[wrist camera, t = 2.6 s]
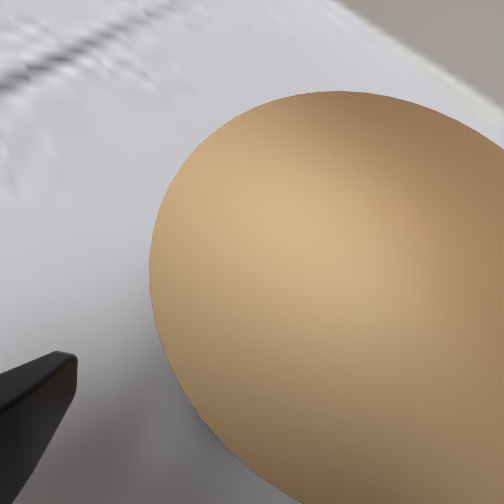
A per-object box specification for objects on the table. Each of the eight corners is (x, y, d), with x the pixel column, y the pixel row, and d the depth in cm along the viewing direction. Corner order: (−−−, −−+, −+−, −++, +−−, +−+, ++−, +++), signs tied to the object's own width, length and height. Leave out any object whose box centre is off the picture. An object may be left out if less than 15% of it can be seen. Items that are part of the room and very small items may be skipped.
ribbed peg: (230, 475, 15) (299, 691, 3) (183, 361, 17) (87, 156, 4) (333, 416, 16) (713, 364, 4) (279, 316, 18) (420, 57, 6)
